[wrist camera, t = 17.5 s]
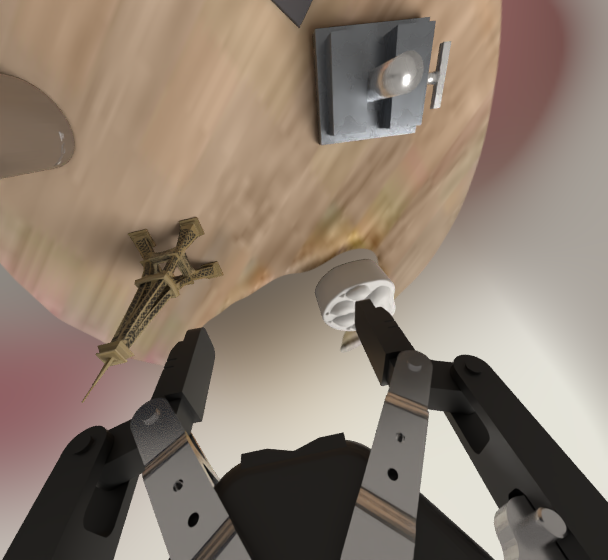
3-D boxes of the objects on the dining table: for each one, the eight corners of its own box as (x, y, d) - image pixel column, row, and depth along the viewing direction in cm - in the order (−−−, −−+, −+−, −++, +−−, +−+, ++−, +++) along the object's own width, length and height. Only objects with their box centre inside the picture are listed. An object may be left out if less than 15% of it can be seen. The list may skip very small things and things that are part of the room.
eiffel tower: (164, 288, 42) (65, 448, 21) (129, 233, 36) (-58, 378, 15) (223, 274, 42) (182, 419, 21) (197, 216, 36) (104, 339, 15)
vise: (319, 144, 33) (339, 150, 24) (312, 33, 27) (335, -12, 18) (421, 130, 34) (476, 132, 25) (437, 20, 28) (516, -29, 19)
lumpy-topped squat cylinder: (380, 296, 50) (400, 325, 43) (320, 314, 50) (330, 345, 43) (377, 254, 44) (399, 279, 37) (309, 273, 44) (318, 302, 37)
